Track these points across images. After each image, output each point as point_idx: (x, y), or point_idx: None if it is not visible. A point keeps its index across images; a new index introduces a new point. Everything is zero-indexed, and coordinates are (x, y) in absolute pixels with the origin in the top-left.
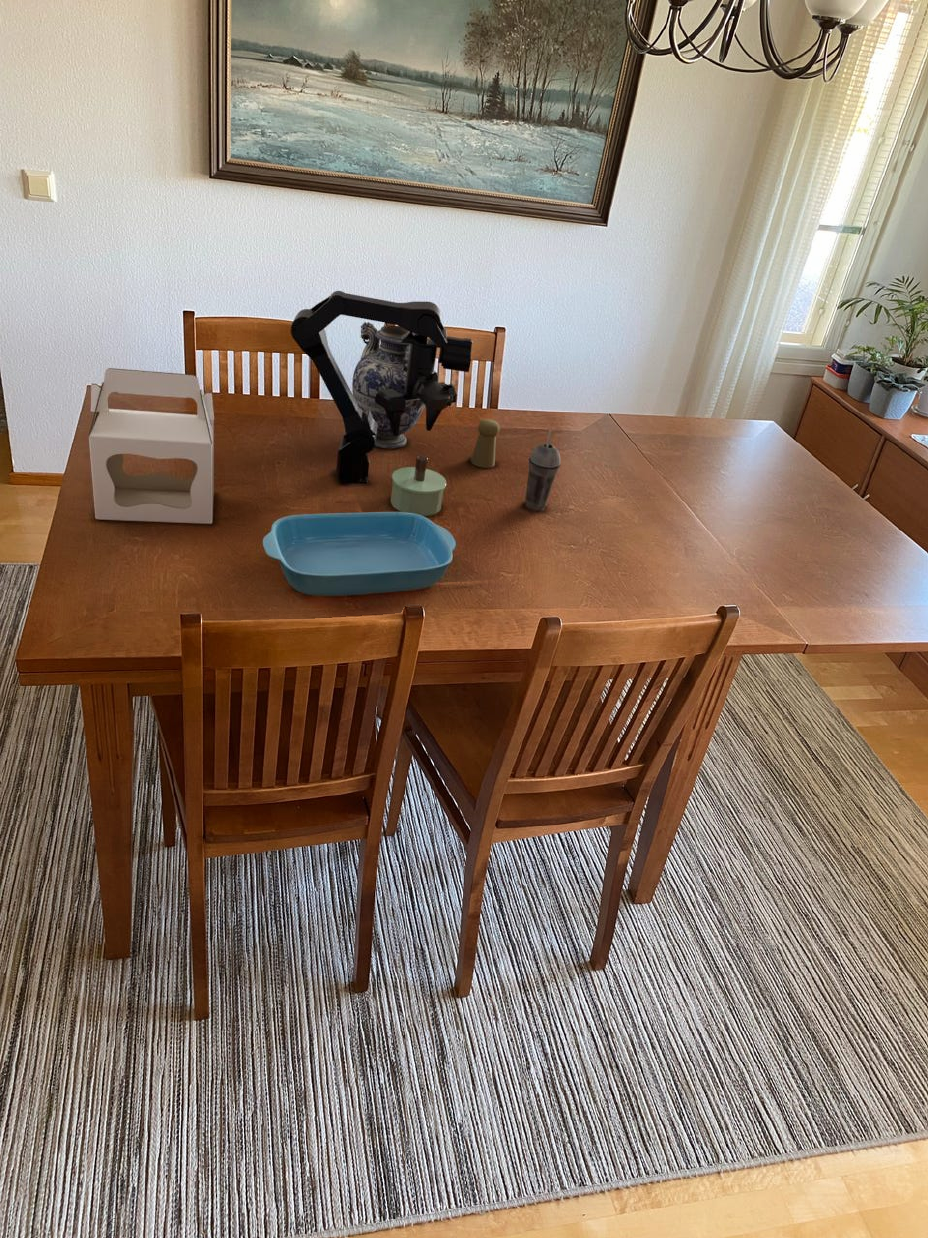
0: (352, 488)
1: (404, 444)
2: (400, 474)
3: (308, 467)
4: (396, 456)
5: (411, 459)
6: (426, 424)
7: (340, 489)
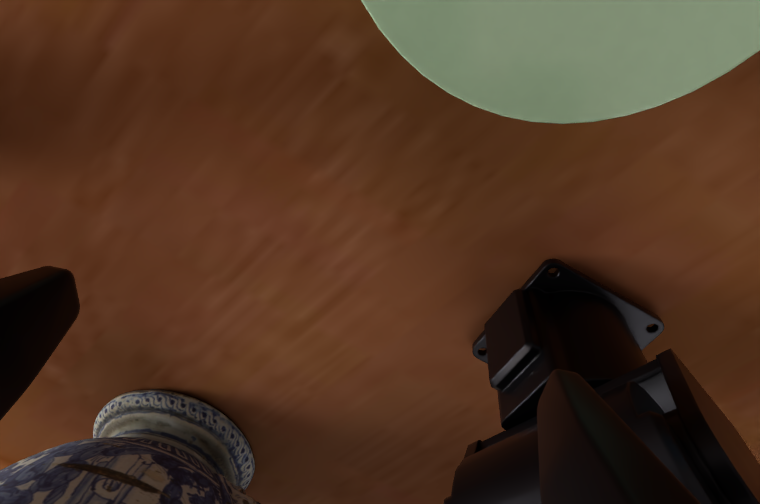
0: (651, 263)
1: (129, 393)
2: (666, 30)
3: None
4: (219, 352)
5: (172, 305)
6: (41, 358)
7: (709, 286)
